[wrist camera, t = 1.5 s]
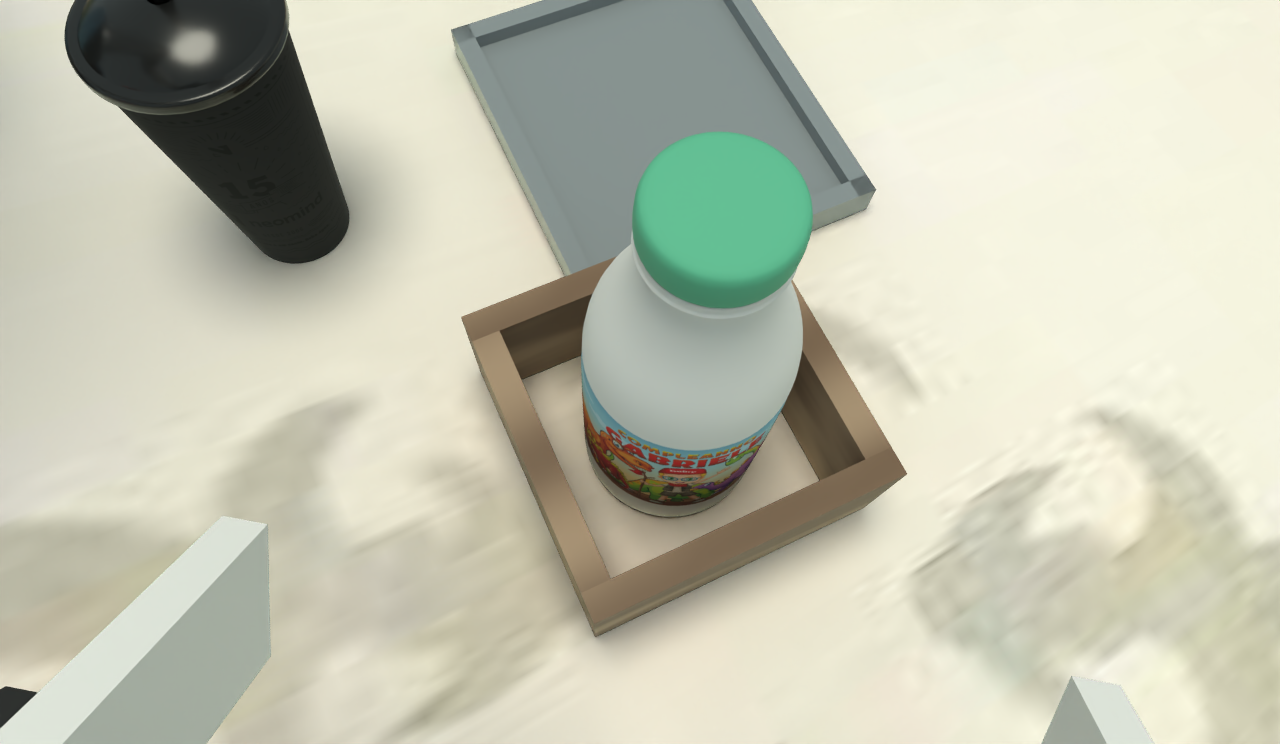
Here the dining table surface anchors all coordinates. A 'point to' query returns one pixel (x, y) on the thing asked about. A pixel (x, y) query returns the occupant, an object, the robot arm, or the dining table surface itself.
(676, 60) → the tray
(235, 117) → the drinking cup
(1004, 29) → the dining table surface
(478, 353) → the holder
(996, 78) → the dining table surface
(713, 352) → the milk bottle
